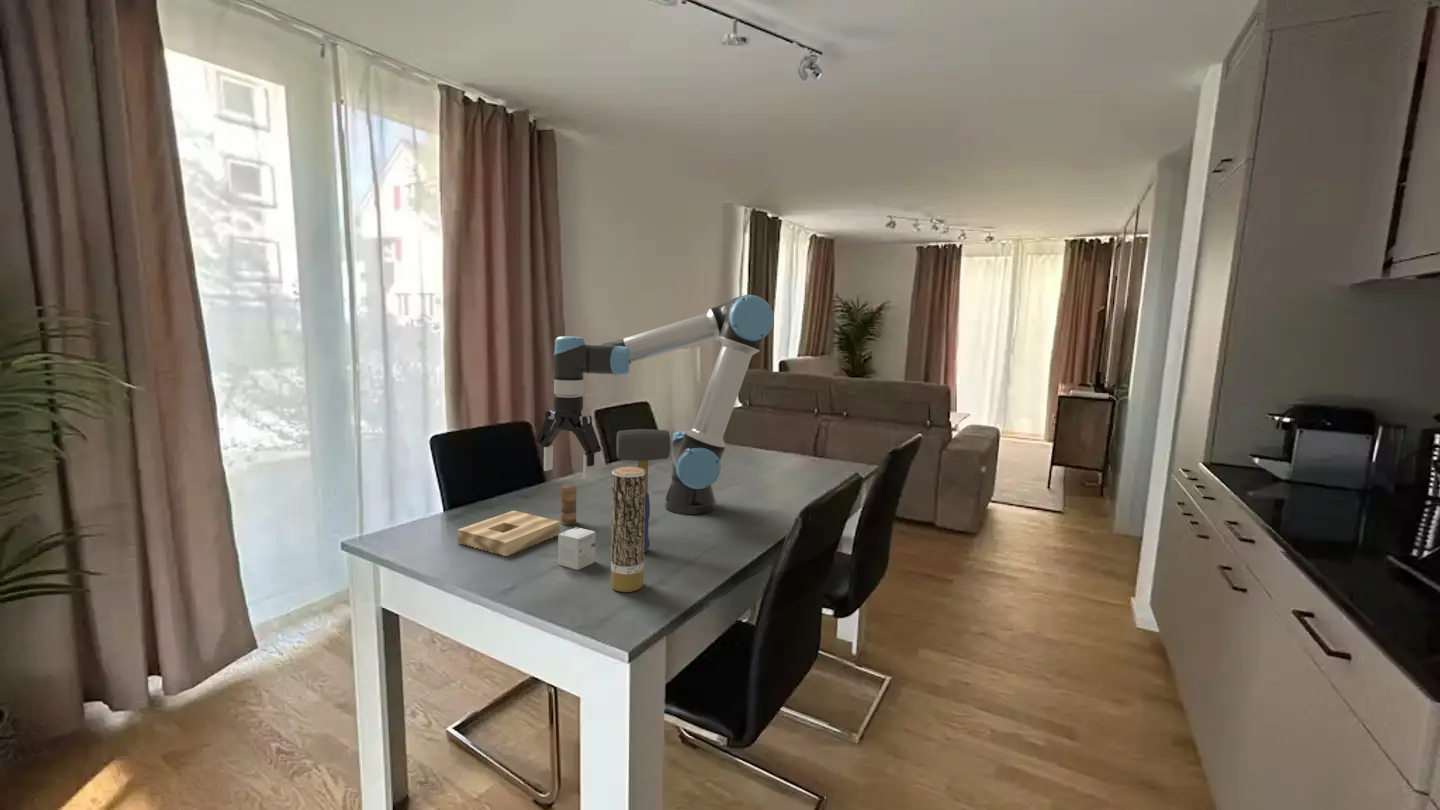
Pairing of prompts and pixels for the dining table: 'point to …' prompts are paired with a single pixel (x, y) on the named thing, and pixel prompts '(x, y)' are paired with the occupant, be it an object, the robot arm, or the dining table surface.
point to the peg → (568, 505)
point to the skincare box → (576, 548)
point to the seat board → (508, 532)
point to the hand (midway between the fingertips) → (567, 473)
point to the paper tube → (627, 528)
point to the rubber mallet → (643, 456)
